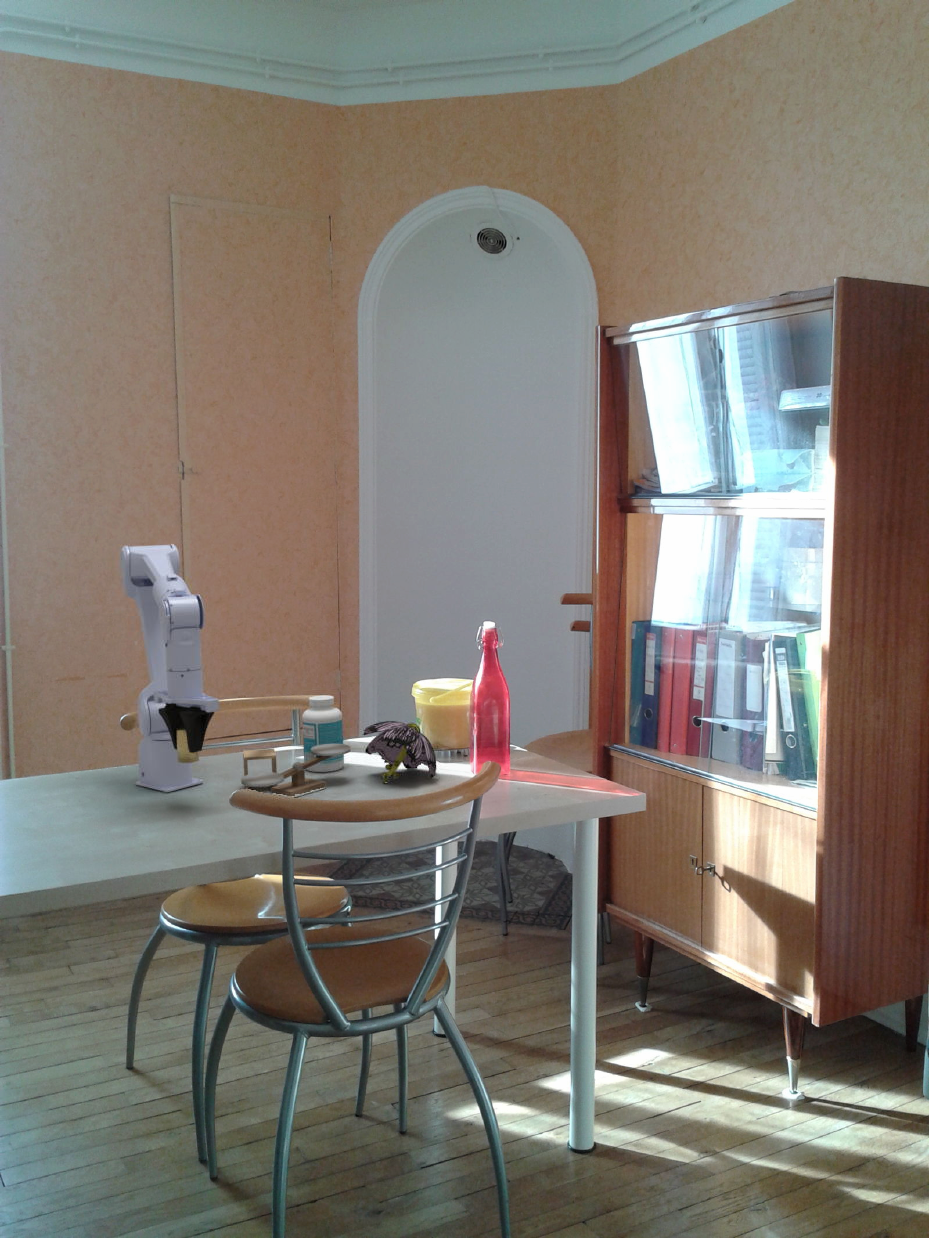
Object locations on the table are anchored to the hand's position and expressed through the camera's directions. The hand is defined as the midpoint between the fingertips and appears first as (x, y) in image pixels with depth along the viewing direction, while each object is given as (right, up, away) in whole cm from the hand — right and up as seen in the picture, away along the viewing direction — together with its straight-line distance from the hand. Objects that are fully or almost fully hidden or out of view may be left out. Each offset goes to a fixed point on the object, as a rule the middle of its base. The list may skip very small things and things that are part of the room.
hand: (188, 749), depth 185 cm
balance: (+17, -8, +8) cm, 21 cm away
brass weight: (0, -2, 0) cm, 2 cm away
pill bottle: (+20, -7, +24) cm, 32 cm away
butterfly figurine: (+35, -7, +16) cm, 39 cm away
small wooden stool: (+10, -8, +11) cm, 17 cm away
